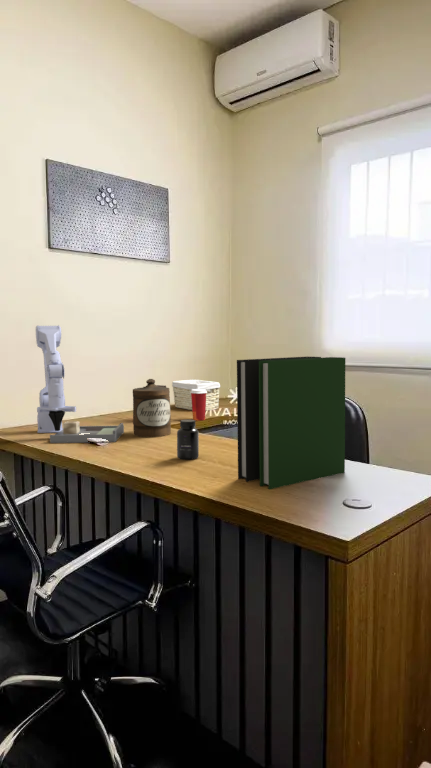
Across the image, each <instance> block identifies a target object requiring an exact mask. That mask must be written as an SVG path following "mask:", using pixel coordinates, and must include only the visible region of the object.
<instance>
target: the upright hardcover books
mask: <svg viewBox="0 0 431 768" xmlns="http://www.w3.org/2000/svg"><path fill="white" fill-rule="evenodd" d="M236 400H237V401H236V402H237V403H236V405H237V407H236V408H237V409H236V411H237V413H236V414H237V418H236V419H237V427H236V428H237V479H238V480H240V479H245V482H246V483H247V482H252V481H253V482H254V481H256V480H257V481H258V480H259V487H264V486H268V490H273V489H277V488H281V487H282V488H283V487H285V486H290V485H294V484H295V485H296V484H299V483H304V482H309V481H314V480H317V479H318V480H319V479H321V478H326V477H331V476H336V475H340V474H344V473H345V472H346V471H345V470H346V468H345V467H346V466H345V465H346V464H345V463H346V461H345V459H346V458H345V457H346V357H335V356H334V357H333V356H329V357H328V356H326V357H322V356H292V357H291V356H290V357H275V358H273V357H270V358H252V359H251V358H249V359H248V358H247V359H236Z"/></svg>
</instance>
